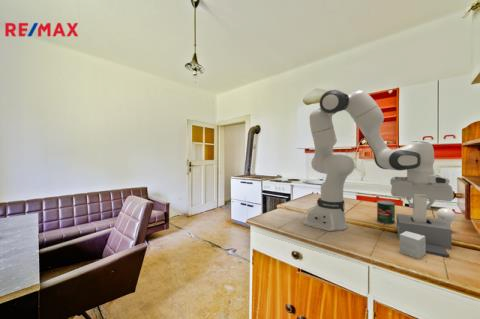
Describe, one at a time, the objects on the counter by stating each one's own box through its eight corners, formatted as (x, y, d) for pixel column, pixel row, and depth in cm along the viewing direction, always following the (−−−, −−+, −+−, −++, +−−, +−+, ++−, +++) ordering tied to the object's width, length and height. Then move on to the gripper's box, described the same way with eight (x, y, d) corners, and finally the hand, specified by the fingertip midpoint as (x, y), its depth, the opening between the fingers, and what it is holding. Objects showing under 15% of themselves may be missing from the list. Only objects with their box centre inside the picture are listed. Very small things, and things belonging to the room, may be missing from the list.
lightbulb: (452, 234, 88) (452, 211, 87) (433, 229, 94) (433, 207, 93) (458, 231, 90) (458, 209, 90) (440, 227, 96) (440, 205, 96)
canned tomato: (378, 223, 105) (378, 203, 104) (376, 218, 112) (375, 199, 111) (396, 225, 101) (396, 204, 100) (393, 220, 108) (392, 201, 107)
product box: (406, 248, 79) (406, 230, 78) (426, 254, 73) (426, 236, 73) (399, 252, 76) (399, 234, 75) (419, 259, 70) (419, 240, 70)
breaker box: (399, 239, 85) (399, 222, 85) (396, 228, 97) (396, 213, 96) (451, 249, 76) (451, 229, 76) (441, 235, 87) (441, 218, 87)
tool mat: (423, 252, 75) (423, 250, 75) (419, 245, 80) (419, 242, 80) (449, 257, 70) (449, 255, 70) (443, 249, 76) (443, 246, 76)
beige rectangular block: (414, 224, 86) (414, 193, 85) (412, 221, 89) (412, 191, 89) (426, 226, 84) (426, 194, 83) (424, 223, 87) (424, 192, 86)
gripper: (390, 177, 89) (390, 206, 89) (455, 180, 77) (454, 213, 78) (390, 175, 94) (389, 203, 95) (450, 178, 82) (449, 209, 83)
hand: (419, 208), depth 86 cm, fingers closed on beige rectangular block, 4 cm apart
